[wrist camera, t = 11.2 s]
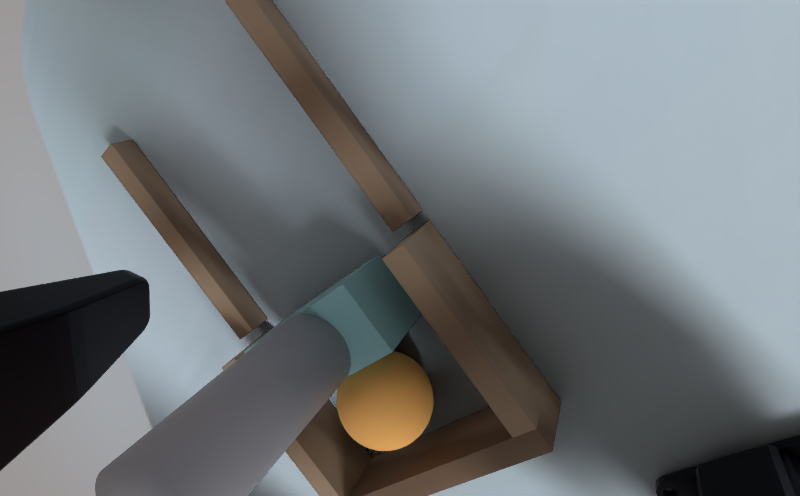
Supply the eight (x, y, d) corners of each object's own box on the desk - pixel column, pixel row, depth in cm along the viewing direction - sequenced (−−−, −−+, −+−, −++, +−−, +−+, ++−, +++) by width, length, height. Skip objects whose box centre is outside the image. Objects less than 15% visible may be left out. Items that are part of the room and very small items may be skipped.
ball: (409, 441, 19) (372, 336, 20) (333, 474, 21) (305, 376, 22) (466, 423, 22) (430, 333, 24) (396, 452, 24) (367, 368, 26)
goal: (561, 401, 22) (552, 451, 19) (369, 479, 27) (342, 526, 24) (260, -16, 20) (206, -25, 18) (122, 152, 26) (65, 164, 23)
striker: (423, 314, 22) (255, 541, 12) (326, 370, 25) (126, 590, 15) (377, 251, 22) (167, 427, 12) (285, 315, 25) (54, 500, 15)
